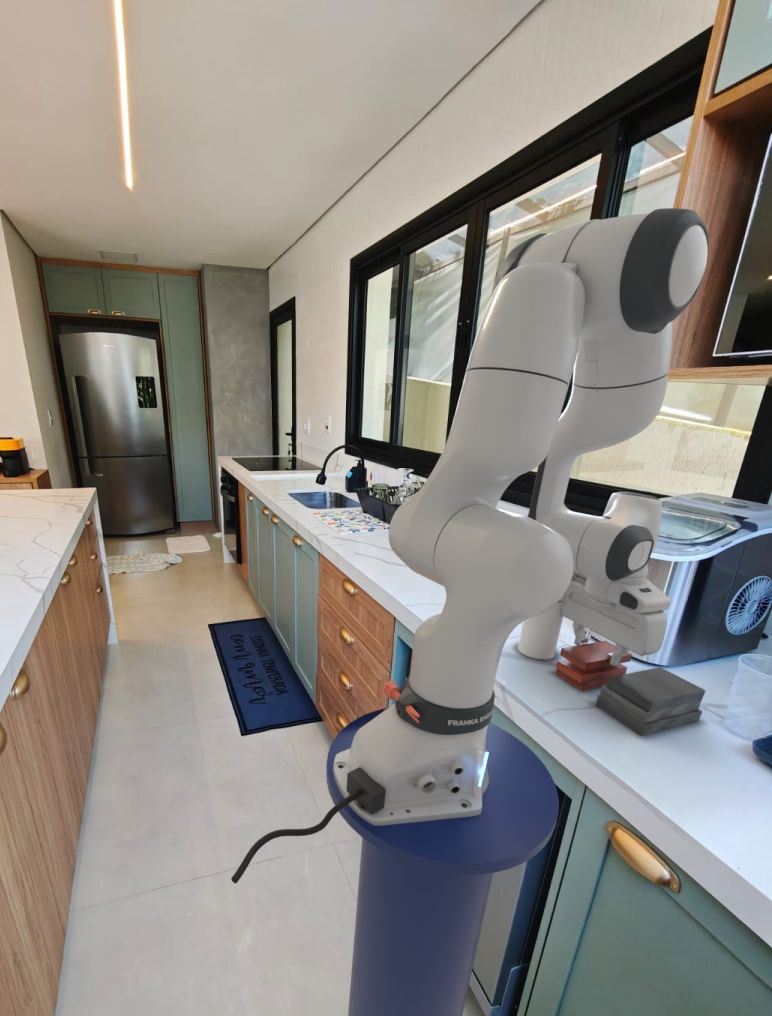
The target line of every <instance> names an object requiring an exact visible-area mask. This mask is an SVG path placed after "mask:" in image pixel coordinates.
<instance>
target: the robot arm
mask: <svg viewBox="0 0 772 1016" xmlns="http://www.w3.org/2000/svg"><path fill="white" fill-rule="evenodd" d="M709 249H710V236H709V231H708V228H707V225H706V224H705V223H704V221H703V220H702V218H701V217H700V216H699V214H698V213H697V212H696V210H693V209H690V208H689V209H688V208H676V207H674V208H671V207H670V208H669V207H668V208H667V207H666V208H657V209H654V210H652V211H651V212H649V213H638V214H630V215H629V214H628V215H621V216H620V215H619V216H615V217H608V218H604V219H599V218H594V219H590V220H586V221H582V222H579V223H575V224H572V225H569V226H566V227H563V228H560V229H558V230H554V231H552V232H550V233H549V232H548V233H538V234H536V235H533V236H532V237H529V238H527V239H526V240H523V241H522V242H520V243H519V244H517V245H516V246H514V247H513V248H512V249H511V250H510V251H509V252H508V254H507V256H506V257H505V259H504V260H503V263H502V264H501V266H500V268H499V270H498V273H497V276H496V278H495V284H494V291H493V293H492V294H491V297H490V300H489V301H488V304H487V306H486V309H485V311H484V314H483V316H482V319H481V321H480V324H479V326H478V330H477V333H476V336H475V338H474V342H473V345H472V348H471V351H470V355H469V359H468V363H467V366H466V369H465V373H464V374H465V375H464V378H463V381H462V386H461V390H460V393H459V398H458V401H457V405H456V409H455V413H454V416H453V419H452V424H451V427H450V430H449V434H448V437H447V440H446V443H445V444H444V447H443V450H442V453H441V455H440V456H439V458H438V460H437V462H436V464H435V466H434V467H433V470H432V471H431V472H430V474H429V476H428V477H427V479H426V481H425V482H424V483H423V485H422V486H421V488H419V490H418V491H417V492H416V493H414V494H413V495H412V496H411V497H409V498H408V499H406V500H405V501H403V502H402V503H401V504H400V505H399V506H398V507H397V509H396V510H395V512H394V513H393V516H392V518H391V520H390V522H389V527H388V543H389V545H390V548H391V551H392V552H393V553H394V555H395V556H396V557H397V558H398V559H399V560H400V561H401V562H402V563H403V564H405V565H406V567H408V568H409V569H410V570H411V571H412V572H413V573H416V574H418V575H419V576H421V577H423V578H425V579H428V580H430V581H431V582H434V583H436V584H437V585H440V586H442V587H443V588H444V589H445V593H446V594H445V603H444V605H443V608H442V611H441V612H440V613H437V614H434V615H432V616H430V617H428V618H426V619H425V620H424V621H422V622H421V623H420V624H419V625H418V626H417V628H416V630H415V631H414V634H413V641H412V642H413V643H412V653H411V660H410V661H411V662H410V670H409V675H408V676H407V678H406V679H405V682H404V683H403V685H402V688H400V687H399V686H398V685H397V684H396V683H395V682H394V680H393V681H392V680H388V681H386V682H384V684H383V685H382V693H384V694H385V695H386V696H387V698H388V699H389V700H391V701H394V700H395V701H394V703H393V704H391V705H390V706H388V707H386V708H387V709H386V710H385V711H383V712H382V713H381V714H379V715H378V716H377V717H375V718H374V719H372V720H371V721H370V722H368V723H367V724H365V725H364V726H363V727H361V728H360V729H359V730H358V731H357V732H356V734H355V736H354V738H353V741H352V745H351V748H350V749H347V750H345V751H342V752H340V753H338V754H337V755H336V756H335V759H334V765H333V773H334V777H335V781H336V783H337V786H338V788H339V790H340V792H341V794H342V795H343V797H344V799H343V800H342V801H341V802H339V803H338V804H337V805H334V806H333V807H331V808H330V810H329V811H328V812H327V813H326V814H325V816H324V818H323V819H322V820H321V821H320V822H319V823H318V824H316V825H313V826H311V827H305V828H283V829H276V830H273V831H270V832H267V834H265V835H263V836H262V837H261V838H259V839H257V841H256V842H255V843H254V844H253V845H251V847H250V849H249V850H248V852H247V853H246V855H245V857H244V858H243V859H242V861H241V862H240V865H239V866H238V868H237V869H236V871H235V873H234V874H233V875H232V876H231V882H232V883H233V884H237V883H238V882H240V880H241V878H242V876H243V875H244V873H245V872H246V871H247V869H248V867H249V865H250V863H251V861H252V860H253V858H254V857H255V856H256V854H257V853H258V851H259V850H260V849H261V848H262V847H263V846H264V845H266V844H267V843H269V842H270V841H272V840H274V839H277V838H281V837H305V836H310V835H315V834H317V833H319V832H321V831H323V830H324V829H325V828H326V827H327V826H328V825H329V823H330V822H331V820H332V819H333V817H334V816H336V815H337V814H338V813H339V811H340V810H341V809H342V808H343V807H345V806H346V805H348V804H349V806H350V807H351V808H352V809H353V810H354V812H355V813H357V814H358V815H359V816H360V817H361V818H362V819H364V820H365V821H367V822H368V823H370V824H372V825H375V826H383V825H394V824H403V823H413V822H423V821H433V820H442V819H452V818H462V817H471V816H478V815H480V814H481V812H482V796H483V794H484V793H485V791H486V789H487V787H488V784H489V775H488V770H487V758H488V754H489V752H486V736H487V725H488V724H489V722H490V723H491V721H492V717H493V713H494V705H495V700H496V699H495V697H496V693H495V690H494V686H495V680H496V677H497V671H498V667H499V662H500V658H501V655H502V651H503V649H504V646H505V644H506V642H507V640H508V638H509V637H510V635H511V633H512V632H513V631H514V630H515V629H516V628H517V626H519V625H521V623H523V621H525V620H527V619H529V618H532V617H535V616H538V615H540V614H542V613H544V612H546V611H548V610H549V609H550V608H552V607H553V606H554V605H555V604H556V603H558V601H559V600H560V599H561V598H562V597H563V595H564V597H563V601H561V602H562V605H561V610H560V615H562V616H563V618H566V619H568V620H569V621H572V622H573V623H572V630H573V633H574V636H575V638H574V642H573V643H574V646H577V645H583V644H587V642H588V639H589V638H587V637H586V630H587V629H589V630H591V632H592V633H595V634H597V635H599V636H601V637H603V638H605V639H607V640H609V641H611V642H613V643H615V644H614V645H615V648H616V649H617V651H615V652H614V653H608V654H607V659H606V662H608V663H609V664H611V665H613V666H614V665H618V664H619V663H620V660H621V656H623V655H624V654H626V653H627V652H628V653H629V652H630V651H631V652H632V653H634V654H636V655H638V656H640V657H644V656H649V655H654V654H655V653H658V652H659V651H660V650H661V649H662V646H663V643H664V641H665V640H664V639H665V636H666V631H667V626H668V617H667V614H666V613H665V610H668V609H670V607H671V604H672V599H671V598H670V597H669V596H668V595H667V594H666V593H664V592H663V591H662V590H660V589H659V588H658V587H657V586H656V585H655V584H653V583H652V582H651V581H650V580H649V579H648V578H647V577H648V573H649V565H648V564H649V562H650V559H651V556H652V555H653V553H654V551H655V549H656V546H657V541H658V537H659V534H660V528H661V522H662V515H663V502H662V501H661V500H660V499H659V498H658V497H656V496H654V495H647V494H643V493H642V494H641V493H638V492H637V493H636V492H630V491H617V492H613V493H612V494H611V495H610V497H609V499H608V501H607V504H606V505H605V509H604V512H603V515H602V516H599V515H594V514H593V515H592V514H586V513H582V512H576V511H573V510H570V509H569V508H568V507H567V505H565V498H566V495H567V490H568V485H569V482H570V477H571V474H572V469H573V464H574V462H575V461H576V460H577V458H578V457H579V456H582V455H584V454H589V453H592V452H595V451H599V450H603V449H606V448H607V449H608V448H610V447H613V446H616V445H618V444H621V443H623V442H625V441H628V440H630V439H632V438H633V437H635V436H637V435H638V434H640V433H641V432H643V431H644V430H646V429H647V428H648V427H649V426H650V425H651V424H652V423H653V422H654V421H655V419H656V418H657V416H659V414H660V412H661V409H662V406H663V403H664V401H665V398H666V397H665V396H666V392H667V388H668V381H669V375H670V373H669V372H670V367H671V357H672V348H673V347H672V346H673V321H674V320H676V319H677V318H678V317H679V316H680V315H681V314H682V313H683V312H684V311H685V310H686V309H687V308H688V306H689V305H690V304H691V303H692V302H693V300H694V299H695V297H696V295H697V294H698V291H699V290H700V287H701V285H702V282H703V279H704V276H705V273H706V269H707V265H708V260H709ZM571 380H572V388H571V394H570V397H569V400H568V402H567V405H566V407H565V408H564V411H563V412H562V410H563V407H564V403H565V400H566V396H567V393H568V390H569V386H570V384H571ZM535 469H537V471H536V475H535V480H534V485H533V490H532V496H531V500H530V505H529V509H528V513H527V515H522V514H519V513H514V512H511V511H508V510H503V509H499V508H497V507H498V504H499V501H500V500H501V498H502V496H503V494H504V493H505V491H506V490H507V489H508V487H509V486H510V485H511V483H513V482H514V481H515V480H516V479H517V478H518V477H520V476H522V475H523V474H524V475H525V474H526V473H528V472H531V471H532V470H535ZM585 628H587V629H585ZM589 630H588V631H589ZM589 640H590V639H589ZM588 643H589V642H588ZM620 664H621V663H620ZM464 807H465V808H464ZM363 808H365V809H363Z"/></svg>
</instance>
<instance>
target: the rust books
mask: <svg viewBox="0 0 772 1016" xmlns="http://www.w3.org/2000/svg"><path fill="white" fill-rule="evenodd" d="M555 668H556V669H555V675H556V676H558V677H559V678H561V679H563V680H564V681H565V682H567V683H569V684H570V685H571V686H573V687H575V688H576V689H578V690H579V691H581V692H584V691H587V690H593V689H598V688H602V686H604V685H607V683H608V680H609V677H613V676H618V675H623V674H627V670H628V667H627V666H625V665H624V664H623V663H620V664H618V665H614V666H613V665H609V666H604V667H599V668H594V669H589V670H584V669H582V668H580V667H579V666H577V665H575V664H574V663H572V662H570V661H569V660H567V659H565V658H564V659H561V660H557V661H556V665H555Z"/></svg>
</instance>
